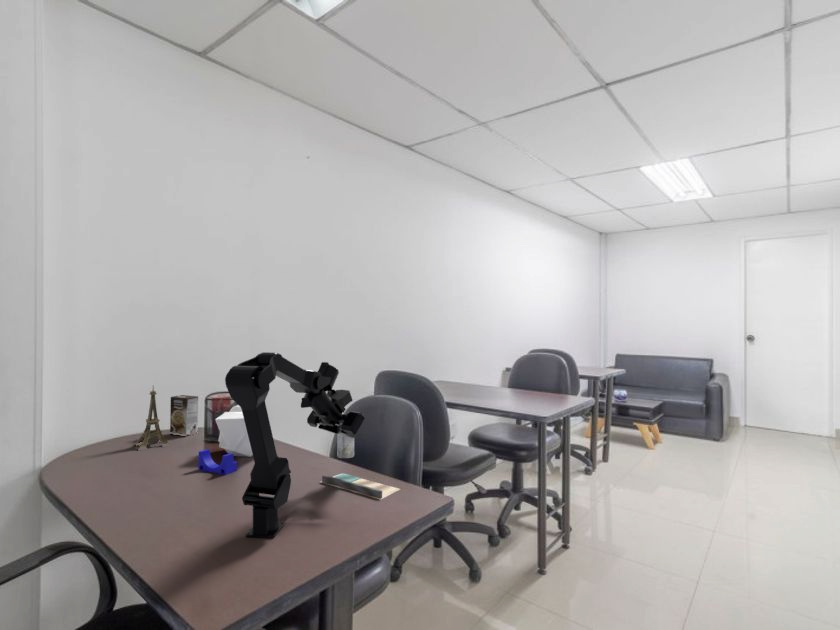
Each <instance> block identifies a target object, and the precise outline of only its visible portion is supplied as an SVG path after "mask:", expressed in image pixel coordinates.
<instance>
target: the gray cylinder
mask: <svg viewBox="0 0 840 630" xmlns="http://www.w3.org/2000/svg"><path fill="white" fill-rule="evenodd" d="M341 430H342V423H340V425H338V428H337V434H336V435H337V442H336V443H337V448H336V449H337V450H336V451H337V455H336V456H337V458H338V459H339V458H340V459H350V458H353V457H355V438H352V437H350V436H348V435H345V434H343V433H340V432H341Z"/></svg>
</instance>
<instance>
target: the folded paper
mask: <svg viewBox="0 0 840 630" xmlns="http://www.w3.org/2000/svg"><path fill="white" fill-rule="evenodd" d="M215 423H216V425H217V428H218V431H219V436H218V440H217V441H218V442H219V445H218V448H220V449H224V451H225V452H226V454H229V453H232V454H234V457H245V458H252V457H253V454H252V450H251V446H250V442H249V437H248V433H247V429H246V425H245V421H244V417H243V413H242V409H241V407H240V406H239V405H238V404H237V405H234V406H232V407H231V408H230V410H229V411H224V412H223V413H222V414H221V415H219V416H218V417H217V418H215Z"/></svg>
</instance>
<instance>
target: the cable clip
mask: <svg viewBox="0 0 840 630" xmlns="http://www.w3.org/2000/svg"><path fill="white" fill-rule="evenodd" d="M234 457H235V456H234V454H232V453H229V454H228V453H226V454H224V455H222V456H221V458H222V459H221V462H220V463H219V464H217V463H216V462H215V461H214V460H213V458H212V455H211V449H208V448H206V449H203V450H199V451H198V471H204V472H210V473H213V472H214V473H213V474H218V475H223V476H227V475H230V474H233V473H234V472H237V471H238V461H236V460H235V461H234Z"/></svg>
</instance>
